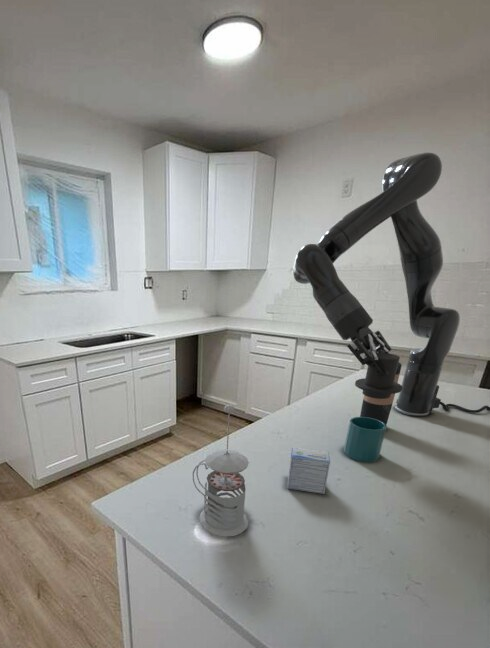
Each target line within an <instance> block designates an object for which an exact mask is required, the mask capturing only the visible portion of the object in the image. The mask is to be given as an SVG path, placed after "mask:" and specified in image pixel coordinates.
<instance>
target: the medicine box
mask: <svg viewBox="0 0 490 648" xmlns="http://www.w3.org/2000/svg"><path fill="white" fill-rule="evenodd" d="M330 457H331V456H330V452H328V451H323V450H317V449H308V448H302V447H301V448H300V447H291V452H290V459H289V468H288V476H287V485H286V488H287V489H289V490H296V491H303V492H307V493H308V492H309V493H314V494H322V495H325V492H326V487H327V483H328V482H327V481H328V476H329V471H330V466H331V458H330Z"/></svg>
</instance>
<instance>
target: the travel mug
mask: <svg viewBox="0 0 490 648" xmlns="http://www.w3.org/2000/svg"><path fill="white" fill-rule="evenodd" d="M402 366H403V364H402V362H399V363H398V368H397V371H396V375H395V379H394V382H396V383H398V384H399V380H400V374H401V371H402ZM395 396H396V393H394V394H391V396H390V397H389V398H387V399H376V398H371V397H368V396H365V395H364V394H363V398H362V403H361V410H360V416H359V417H369V418H373V419H377V420H379V421H382V422H383V423H385V424H386V426H387V424H388V421H389V417H390V414H391V410H392V407H393V403H394V399H395Z"/></svg>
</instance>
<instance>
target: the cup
mask: <svg viewBox="0 0 490 648" xmlns="http://www.w3.org/2000/svg"><path fill="white" fill-rule="evenodd" d="M387 427H388V426H387V425H386V424H385V423H383V422H382V421H379V420H377V419H373V418H369V417H360V416H354V417H352V418H350V419H349V422H348V427H347V432H346V436H345V442H344V446H343V453H344V455H345V456H346V457H348V458H350V460H351V459H352V460H354V461H357V462H362V463H373V462H377V461H378V460H379V458H380V454H381V451H382V446H383V443H384V439H385V435H386V431H387Z"/></svg>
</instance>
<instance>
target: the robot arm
mask: <svg viewBox="0 0 490 648" xmlns="http://www.w3.org/2000/svg"><path fill="white" fill-rule="evenodd" d="M442 171H443V163H442V159H441V157H440V156H439V155H438V154H437V153H435V152H420V153H417V154H412V155H410V156H406V157H402V158H399V159H396V160H393V161H392V162H391V163H390V164H388V166H387V168H386V169H385V170H384V172H383V176H382V181H381V188H382V189H381V190H382V192H381V193H379V194H378V195H376V196H375V197H373V198H371V199H370V200H368V201H366V202H365V203H363V204H361V205H360V206H358V207H356V208H354V209H353V210H351V211H350V212H348V213H347V214H345V215H344V216H343V217H341V218H340V219H339V220H338V221H337V222H336V223H334V224H333V225H332V226H331V227H330V228H329V229H328V230H327V231H325V232H324V234H323V235H322V236H321V238H320V239H319V241H318V243H317V244H316V243H307V244H305V245H304V246H302V247H301V248H299V250H298V252H297V253H296V255H295V259H294V263H293V267H292V277H293V280H295V281H296V282H297V283H299V284H301V285H305V284H306V285H307V284H310V286H311V289H312V296H313V299H314V300H315V302H316V303H317V305H318V306H319V307H320V309H321V310H322V311H323V313H324V315H325V317H326V319H327V320H328V322H329V323H330V324H331V326H332V327H333V328H334V330H335V331H336V333H337V334H338V335H339V337H340V339H342V340H343V341H348V340H350V342H349V343H347V345H346V347H347V349H348V350H349V351H350V352H351V353H352V354H353V356H354V357H355V358H356V359H357V360H358V361H359V363H360V364H361V365H363V366H365V365H366V366H367V367H368V366H369V365H370V367H371V369H372V370H373V371H374V373H375V374H376V375H377V377H378V378H381V377H383V376H385V375H387V374H388V371H387V370H386V368H385V367H384V366H383V364H382V363H381V362H380V360H378V357H377V355H376V353H388V354H391V351H392V349H393V348H392V347H391V346H390V345H389V343H388V342H387V340H386V339H385V337H384V335H383V334H382V333H381V331H379V330H376V331H375V332H374V331H373V330H372V329H370V327H369V326H371V325H372V324H373V321H374V319H373V318H372V317H371V315H370V314H369V313H368V312H367V310H366V309H365V308H364V307H363V305H362V304H361V302H360V301H359V300H358V299H357V297H355V295H354V294H352V293H351V292H350V290H349V289H348V288H347V286H346V285H345V283H344V282H343V281H342V279H340V277H339V274H338V272H337V269H336V268H335V267H336V266H335V265H334V263H335V262H336V261H337V260H338V259H339V258H340V257H342V255H343V254H345V253H346V252H347V251H349V250H350V249H351V248H352V247H353V246H354V245H356V244H357V243H358V242H359V241H360V240H362V239H363V238H364V237H365V236H367V235H368V234H369V233H370V232H371V231H373V230H374V229H376V228H377V227H378V226H380V225H381V224H383V222H385V221H387V220H388V219H391V222H392V226H393V229H394V234H395V238H396V243H397V247H398V252H399V260H400V264H401V269H402V273H403V278H404V283H405V287H406V288H405V289H406V294H407V304H408V318H409V327H410V330H411V332H412V334H413V335H414V336H416V337H419V338H422V339H423V338H424V339H428V340H427V343H426V345H425V346H424V347H418V348H413V349H411V350H410V351H409V355H408V358H407V362H406V365H405V370H404V373H403V378H402V381H401V384H400V385H401V386H402V387H403V388H402V391H401V392H399V393H398V398H397V399H396V405H395V410H396V411H397V412H399V413H400V414H403V415H407V416H410V417H411V416H412V417H427V416H429V414H430V415H431V414H432V412H433V409H439V408H440V406H441V407H442V409H443V410H444V411H448V410H449V407H452V408H455V409H457V410H461V411H463V412H466V413H469V414H470V413H471V414H477V413H482V412H483V411H484V410H487V411H490V406H489V405H483V406H482V407H481V408H478V409H468V408H465V407H463V406H460V405H458V404H454V403H446V404H445V402H443V401H442V398H438V397H437V396H438V393H439V389H440V385H439V380H440V376H441V373H442V369H443V367H444V364H445V363H444V362H445V360H446V358H447V356H448V355H449V353H450V351H451V348H452V345H453V344H454V340H455V337H456V335H457V332H458V330H459V326H460V321H461V317H460V313H459V311H457V310H456V309H454V308H450V307H449V308H447V307H441V306H440V307H439V306H435V304H434V302H433V299H432V297H433V296H432V289H433V286H434V284H435V283H436V281H437V279H438V277H440V276H439V275H440V274H441V271H442V269H443V266H444V256H443V249H442V242H441V239H440V237H439V234H438V233H437V232H436V231H435V229H434V228H433V226H432V225H431V224H430V223H429V222H428V221H427V220H426V218H425V216H423V214H422V212H421V210H420V208H419V204H418V200H419V199H421V198H423V197H424V196H425V195H427V194H428V193H430V192H431V191H432V190H433V189H435V187H436V185H437V184H438V182H439V180H440V178H441V175H442ZM377 360H378V361H377ZM397 368H398V367H397Z"/></svg>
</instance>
